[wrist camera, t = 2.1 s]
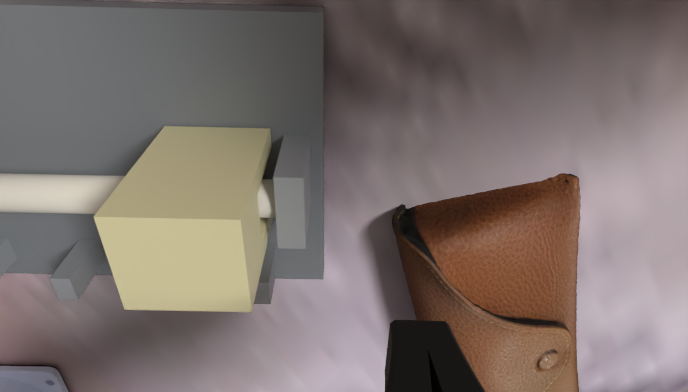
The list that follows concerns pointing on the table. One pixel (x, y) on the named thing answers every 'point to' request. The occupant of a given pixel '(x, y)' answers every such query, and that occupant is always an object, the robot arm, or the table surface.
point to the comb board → (152, 120)
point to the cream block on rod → (190, 221)
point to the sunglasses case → (501, 279)
